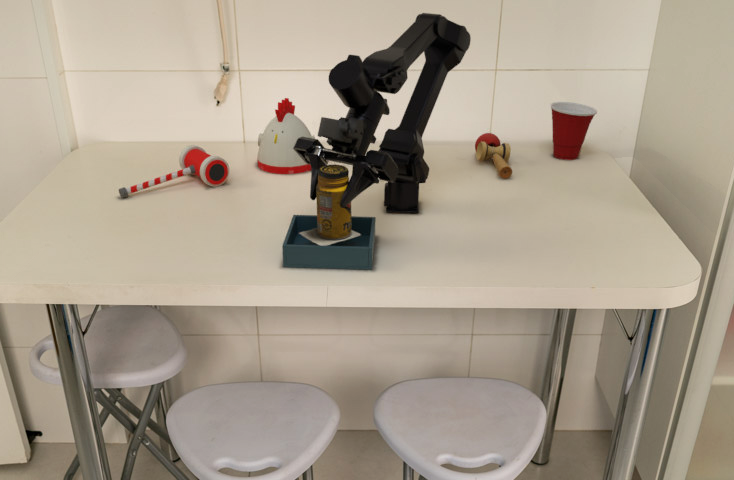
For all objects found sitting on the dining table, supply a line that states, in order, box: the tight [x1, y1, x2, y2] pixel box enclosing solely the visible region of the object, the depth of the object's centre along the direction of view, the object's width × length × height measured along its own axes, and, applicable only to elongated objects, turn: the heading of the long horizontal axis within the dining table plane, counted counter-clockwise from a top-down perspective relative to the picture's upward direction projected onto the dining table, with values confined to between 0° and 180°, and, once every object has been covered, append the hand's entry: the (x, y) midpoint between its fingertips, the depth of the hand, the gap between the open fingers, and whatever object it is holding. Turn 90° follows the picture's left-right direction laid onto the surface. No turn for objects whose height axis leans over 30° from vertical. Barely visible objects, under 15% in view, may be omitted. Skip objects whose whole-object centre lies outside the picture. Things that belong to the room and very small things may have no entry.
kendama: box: [474, 132, 513, 180], centre depth 180 cm, size 8×6×18 cm
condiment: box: [299, 164, 361, 246], centre depth 135 cm, size 7×8×12 cm
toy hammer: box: [118, 144, 230, 199], centre depth 167 cm, size 23×12×6 cm, turn 127°
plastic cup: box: [550, 101, 598, 161], centre depth 185 cm, size 11×11×12 cm
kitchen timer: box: [257, 97, 316, 175], centre depth 178 cm, size 14×14×15 cm
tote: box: [282, 214, 377, 271], centre depth 138 cm, size 15×14×4 cm
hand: (326, 202), depth 134 cm, fingers closed on condiment, 6 cm apart
